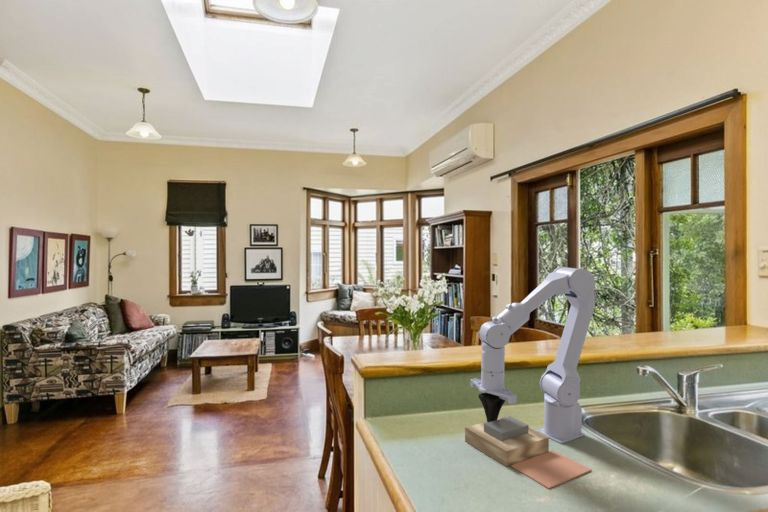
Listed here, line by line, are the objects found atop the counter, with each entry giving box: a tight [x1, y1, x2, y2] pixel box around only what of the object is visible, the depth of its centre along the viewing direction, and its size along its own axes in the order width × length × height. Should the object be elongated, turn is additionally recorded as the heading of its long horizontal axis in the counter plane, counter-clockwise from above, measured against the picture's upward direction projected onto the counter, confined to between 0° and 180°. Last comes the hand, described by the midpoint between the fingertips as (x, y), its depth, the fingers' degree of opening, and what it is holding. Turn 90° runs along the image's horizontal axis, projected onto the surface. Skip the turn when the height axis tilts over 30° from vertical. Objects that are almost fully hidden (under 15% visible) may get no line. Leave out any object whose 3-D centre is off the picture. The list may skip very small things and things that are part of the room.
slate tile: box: [484, 415, 530, 441], centre depth 106 cm, size 9×6×2 cm, turn 120°
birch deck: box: [464, 416, 550, 467], centre depth 106 cm, size 14×14×4 cm
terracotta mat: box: [510, 450, 592, 490], centre depth 95 cm, size 14×10×1 cm
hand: (492, 422), depth 110 cm, fingers closed
